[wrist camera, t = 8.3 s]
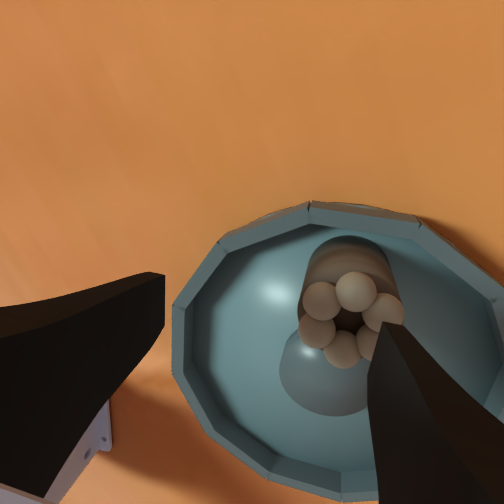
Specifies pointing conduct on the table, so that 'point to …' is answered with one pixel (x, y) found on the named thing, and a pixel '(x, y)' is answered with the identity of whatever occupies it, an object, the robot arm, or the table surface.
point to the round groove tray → (273, 314)
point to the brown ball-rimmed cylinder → (347, 299)
